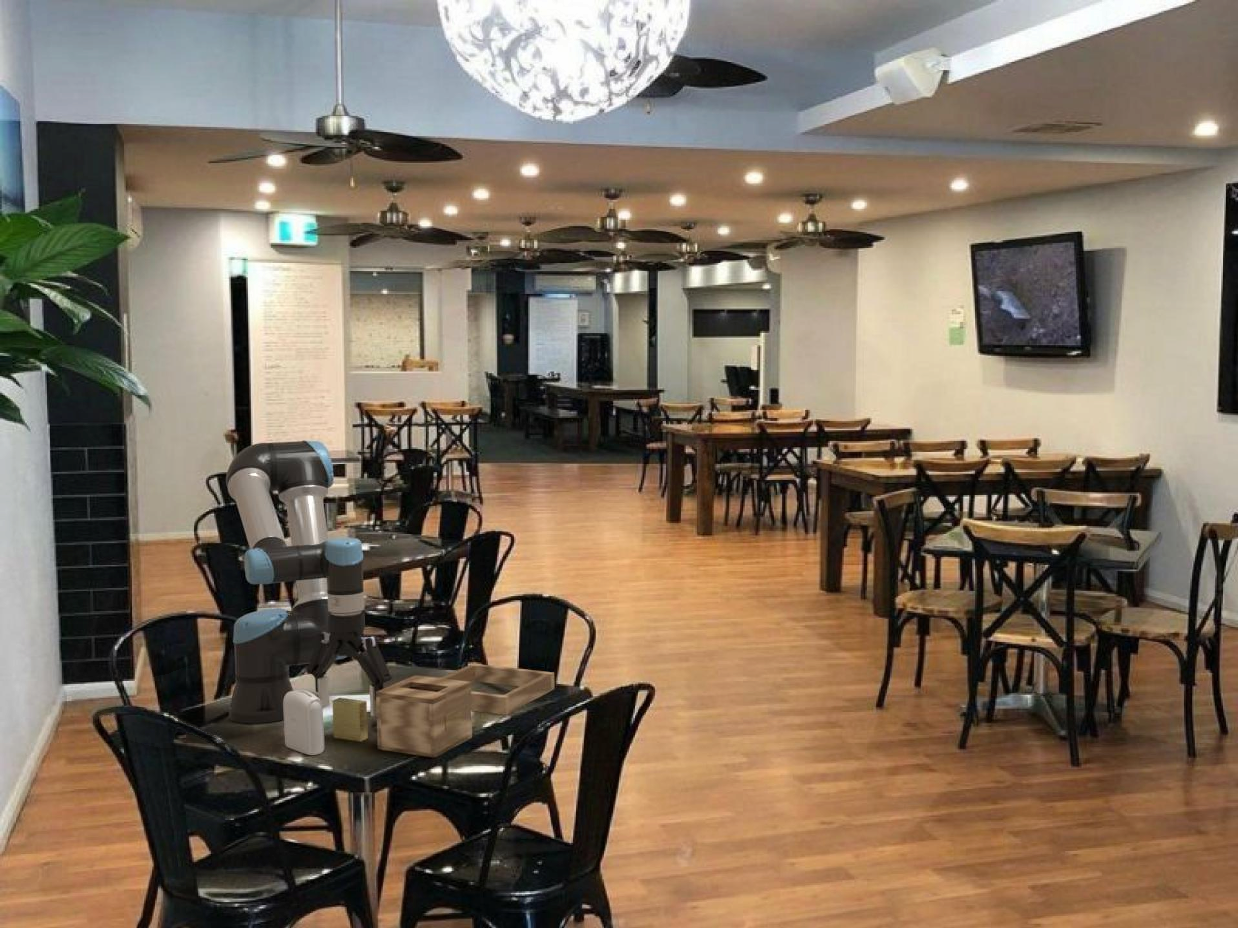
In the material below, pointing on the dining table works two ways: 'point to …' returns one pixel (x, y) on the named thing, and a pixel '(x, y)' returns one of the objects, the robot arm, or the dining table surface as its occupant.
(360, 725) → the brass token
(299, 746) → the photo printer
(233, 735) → the dining table surface
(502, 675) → the frame
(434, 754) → the coin box
